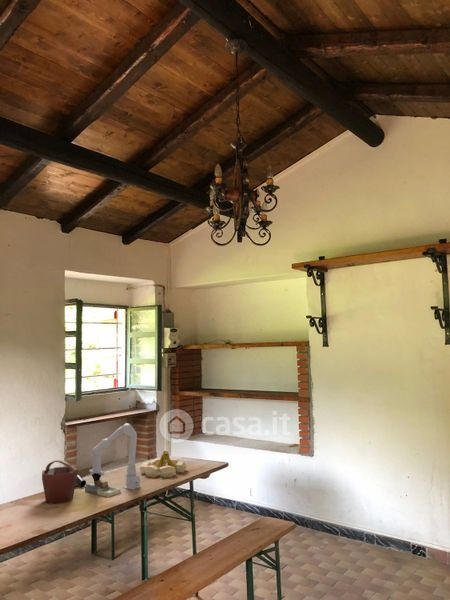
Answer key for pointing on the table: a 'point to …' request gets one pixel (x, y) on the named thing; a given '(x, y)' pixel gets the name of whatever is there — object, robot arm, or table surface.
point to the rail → (94, 488)
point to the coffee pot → (80, 481)
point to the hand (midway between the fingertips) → (96, 484)
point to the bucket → (59, 483)
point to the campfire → (163, 466)
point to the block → (103, 484)
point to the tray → (109, 492)
